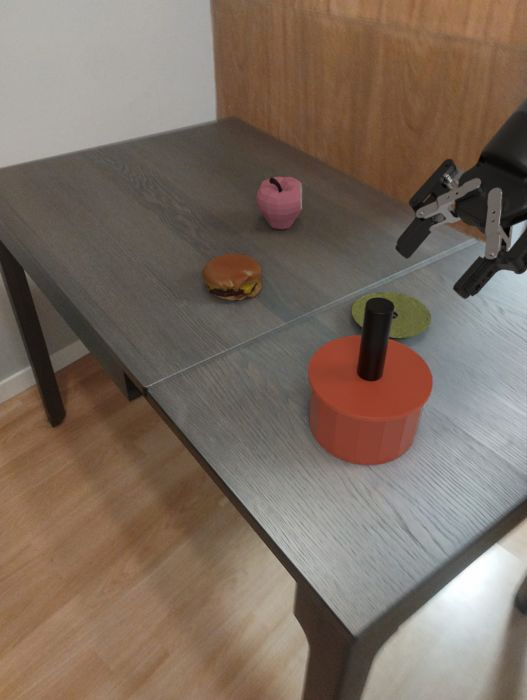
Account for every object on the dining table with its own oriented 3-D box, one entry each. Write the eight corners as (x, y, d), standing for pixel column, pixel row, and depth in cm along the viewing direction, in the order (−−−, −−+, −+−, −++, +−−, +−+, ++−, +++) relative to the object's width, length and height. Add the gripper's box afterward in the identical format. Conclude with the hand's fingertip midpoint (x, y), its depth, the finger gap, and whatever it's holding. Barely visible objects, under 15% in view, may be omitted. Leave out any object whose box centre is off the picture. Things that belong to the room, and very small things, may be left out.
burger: (219, 267, 91) (217, 243, 88) (270, 277, 88) (270, 252, 85) (193, 298, 84) (190, 273, 81) (248, 310, 81) (247, 284, 78)
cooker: (408, 389, 68) (419, 343, 63) (422, 468, 58) (435, 421, 53) (310, 384, 69) (313, 339, 64) (308, 461, 59) (311, 415, 54)
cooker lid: (421, 345, 64) (438, 271, 57) (440, 430, 53) (463, 352, 47) (309, 340, 65) (312, 267, 58) (305, 422, 54) (310, 345, 48)
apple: (298, 239, 98) (300, 187, 92) (252, 235, 100) (251, 183, 93) (305, 216, 105) (307, 166, 99) (263, 213, 107) (262, 163, 100)
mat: (352, 298, 83) (353, 288, 82) (426, 305, 82) (428, 294, 80) (348, 343, 75) (349, 332, 74) (431, 352, 73) (433, 340, 72)
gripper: (475, 91, 52) (366, 226, 55) (608, 133, 42) (466, 293, 46) (500, 138, 57) (399, 258, 61) (623, 184, 48) (495, 324, 51)
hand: (428, 273), depth 53 cm, fingers open, 8 cm apart
